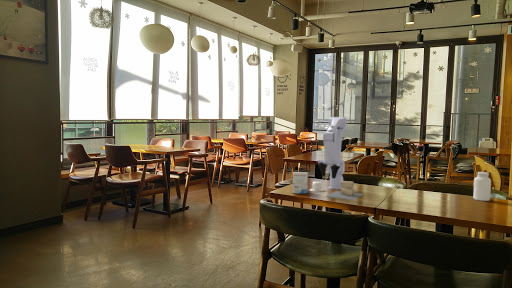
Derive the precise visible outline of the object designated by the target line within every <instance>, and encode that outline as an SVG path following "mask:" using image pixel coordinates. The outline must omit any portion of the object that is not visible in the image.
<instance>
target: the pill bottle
mask: <svg viewBox="0 0 512 288" xmlns="http://www.w3.org/2000/svg"><path fill="white" fill-rule="evenodd" d="M489 175H490V174H489V172H485V171H478V172H477V175H476V177H474V179H473V195H472V196H473V199H474V200H476V201H481V202H489V201H490V200H491V191H492V190H491V188H492V187H491V186H492V179H491V178H490V177H489Z"/></svg>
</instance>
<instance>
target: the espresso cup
mask: <svg viewBox="0 0 512 288" xmlns="http://www.w3.org/2000/svg"><path fill="white" fill-rule="evenodd" d="M312 191H313V192H323V191H325V189H324V188H323V182H322V181H312V188H310V189H309V192H312Z"/></svg>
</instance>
